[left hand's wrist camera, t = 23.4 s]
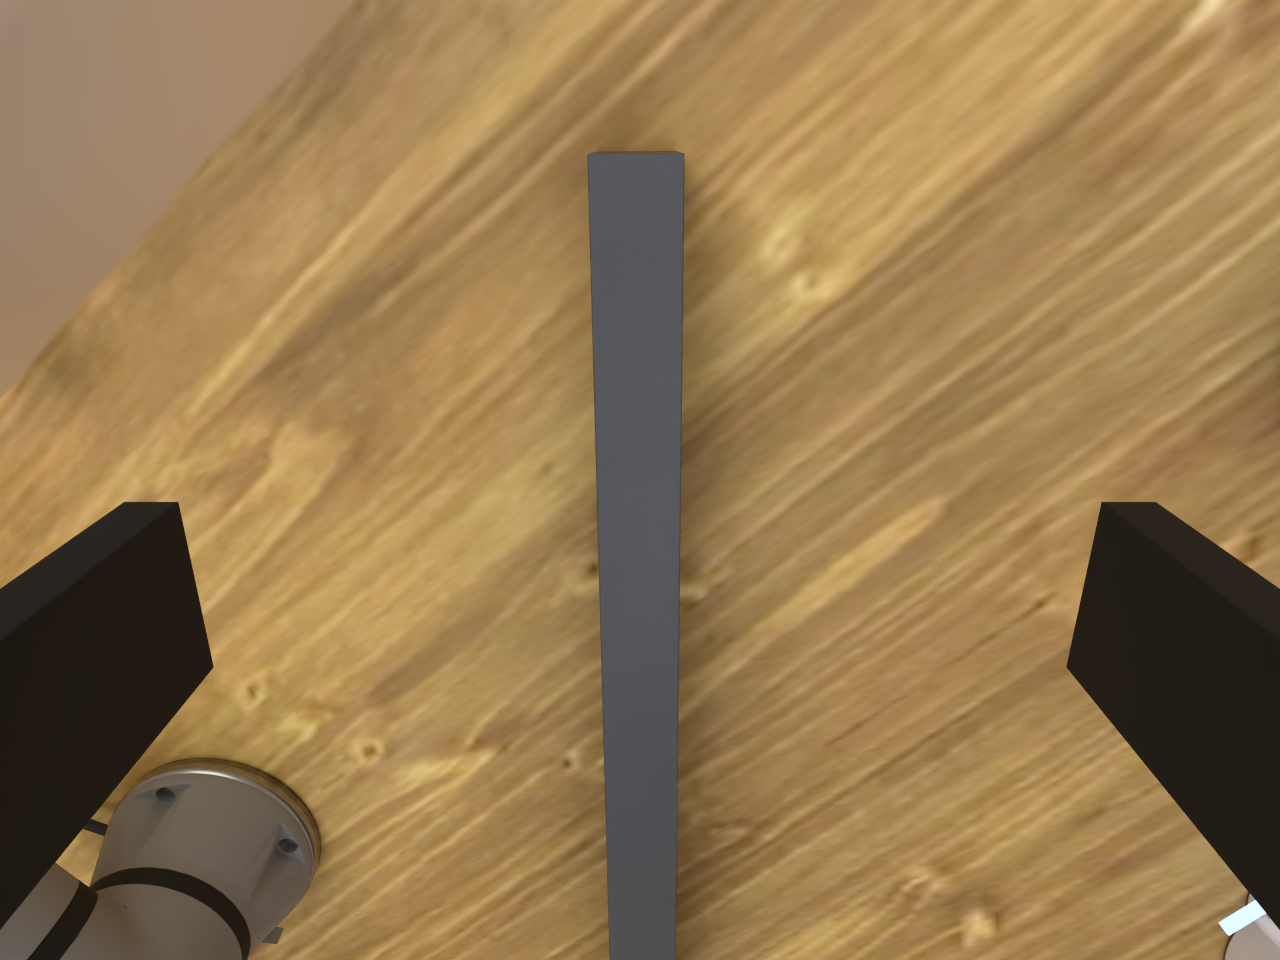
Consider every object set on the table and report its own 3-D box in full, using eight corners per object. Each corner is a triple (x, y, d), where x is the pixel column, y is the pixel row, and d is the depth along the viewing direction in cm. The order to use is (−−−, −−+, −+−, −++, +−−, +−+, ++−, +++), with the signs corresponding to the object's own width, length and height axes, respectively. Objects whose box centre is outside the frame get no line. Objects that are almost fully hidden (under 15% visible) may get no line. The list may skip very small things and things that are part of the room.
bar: (596, 151, 48) (587, 153, 40) (676, 151, 48) (684, 153, 40) (619, 1102, 78) (616, 1213, 70) (669, 1102, 78) (672, 1213, 70)
